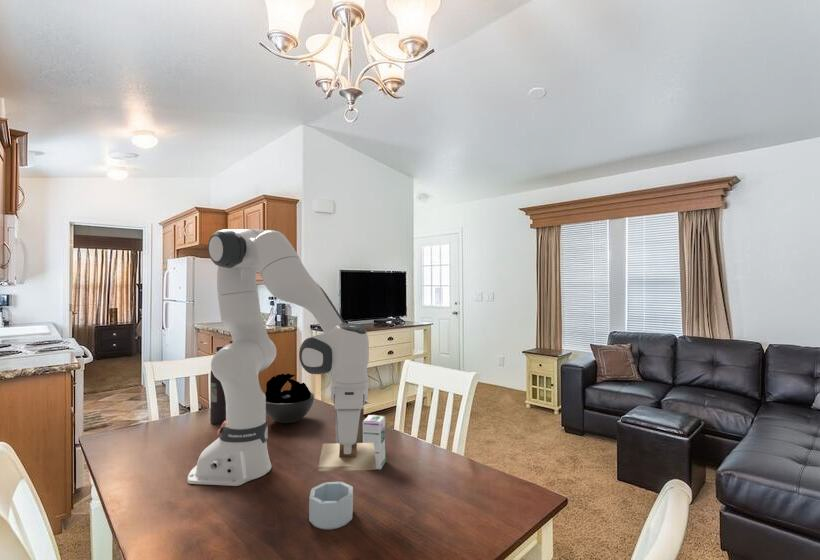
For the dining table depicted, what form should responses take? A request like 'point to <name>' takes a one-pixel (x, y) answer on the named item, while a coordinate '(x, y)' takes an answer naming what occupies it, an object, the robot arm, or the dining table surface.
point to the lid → (347, 457)
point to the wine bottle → (217, 399)
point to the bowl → (331, 505)
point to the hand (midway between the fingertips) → (347, 448)
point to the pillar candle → (360, 427)
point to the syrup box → (376, 437)
